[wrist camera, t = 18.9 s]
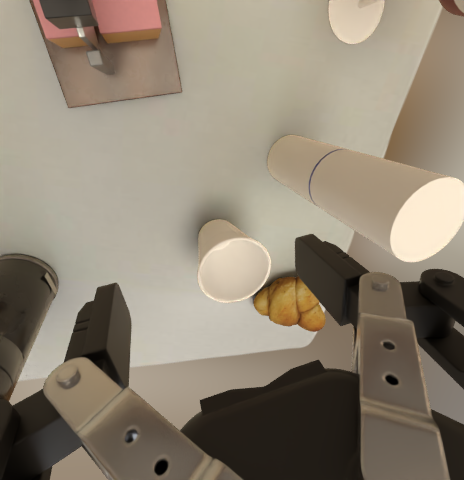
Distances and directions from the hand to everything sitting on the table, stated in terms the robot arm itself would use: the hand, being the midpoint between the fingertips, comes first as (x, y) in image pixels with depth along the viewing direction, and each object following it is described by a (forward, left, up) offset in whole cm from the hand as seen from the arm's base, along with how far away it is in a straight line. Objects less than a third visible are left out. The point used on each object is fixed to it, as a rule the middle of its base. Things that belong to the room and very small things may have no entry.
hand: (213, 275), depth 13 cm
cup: (+5, -14, -30) cm, 34 cm away
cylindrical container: (+18, -4, -30) cm, 35 cm away
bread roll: (+16, -29, -30) cm, 45 cm away
